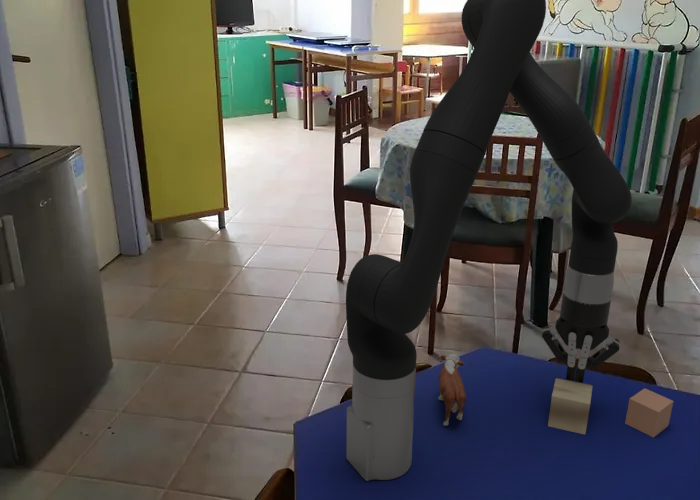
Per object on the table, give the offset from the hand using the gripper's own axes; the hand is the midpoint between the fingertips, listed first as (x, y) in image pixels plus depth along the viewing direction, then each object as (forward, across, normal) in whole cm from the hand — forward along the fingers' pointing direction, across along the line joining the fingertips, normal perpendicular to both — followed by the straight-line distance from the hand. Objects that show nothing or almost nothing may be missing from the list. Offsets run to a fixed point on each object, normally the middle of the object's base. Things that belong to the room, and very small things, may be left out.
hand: (573, 383), depth 116 cm
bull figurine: (+5, +19, +8) cm, 22 cm away
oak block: (+2, 0, +1) cm, 2 cm away
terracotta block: (+5, -12, 0) cm, 13 cm away
